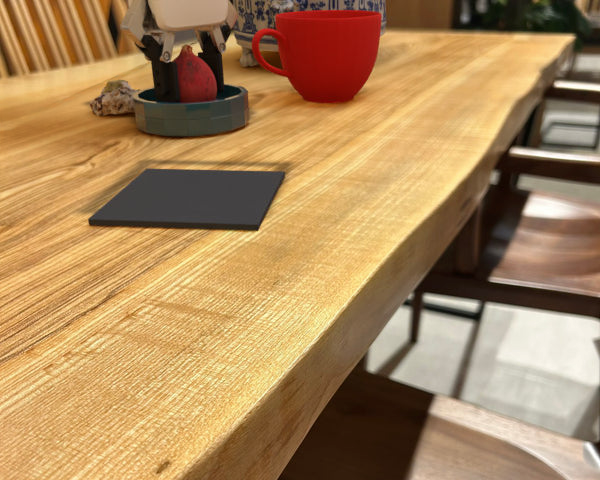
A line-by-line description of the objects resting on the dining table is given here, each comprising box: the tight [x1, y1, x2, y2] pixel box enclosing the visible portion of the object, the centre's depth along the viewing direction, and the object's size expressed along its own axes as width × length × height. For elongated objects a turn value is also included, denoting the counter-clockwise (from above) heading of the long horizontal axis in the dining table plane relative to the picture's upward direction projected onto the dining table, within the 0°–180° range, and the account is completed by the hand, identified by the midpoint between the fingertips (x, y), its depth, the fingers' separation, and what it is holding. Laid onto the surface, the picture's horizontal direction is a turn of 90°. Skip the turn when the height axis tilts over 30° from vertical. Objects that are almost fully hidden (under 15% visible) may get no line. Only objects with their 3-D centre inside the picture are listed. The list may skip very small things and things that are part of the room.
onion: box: [167, 43, 217, 103], centre depth 69 cm, size 6×6×8 cm
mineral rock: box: [89, 79, 141, 117], centre depth 78 cm, size 11×4×8 cm
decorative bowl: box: [232, 0, 387, 68], centre depth 112 cm, size 42×27×15 cm, turn 169°
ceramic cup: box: [252, 10, 382, 105], centre depth 79 cm, size 13×17×10 cm
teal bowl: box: [133, 83, 250, 138], centre depth 70 cm, size 12×12×4 cm
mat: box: [87, 168, 286, 232], centre depth 49 cm, size 12×12×1 cm
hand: (190, 94), depth 69 cm, fingers closed on onion, 5 cm apart
